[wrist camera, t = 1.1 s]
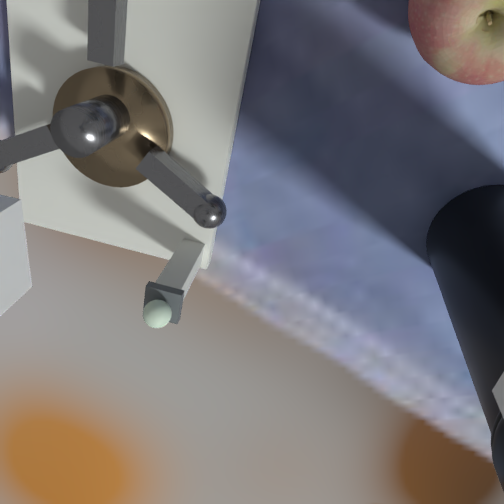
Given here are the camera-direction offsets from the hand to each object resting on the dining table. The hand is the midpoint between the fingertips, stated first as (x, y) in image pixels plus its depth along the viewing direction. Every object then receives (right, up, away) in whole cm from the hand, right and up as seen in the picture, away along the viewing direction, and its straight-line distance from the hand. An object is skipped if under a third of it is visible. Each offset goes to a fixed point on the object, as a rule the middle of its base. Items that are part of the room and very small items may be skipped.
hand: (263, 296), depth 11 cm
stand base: (-9, +12, +21) cm, 25 cm away
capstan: (-9, +13, +18) cm, 24 cm away
